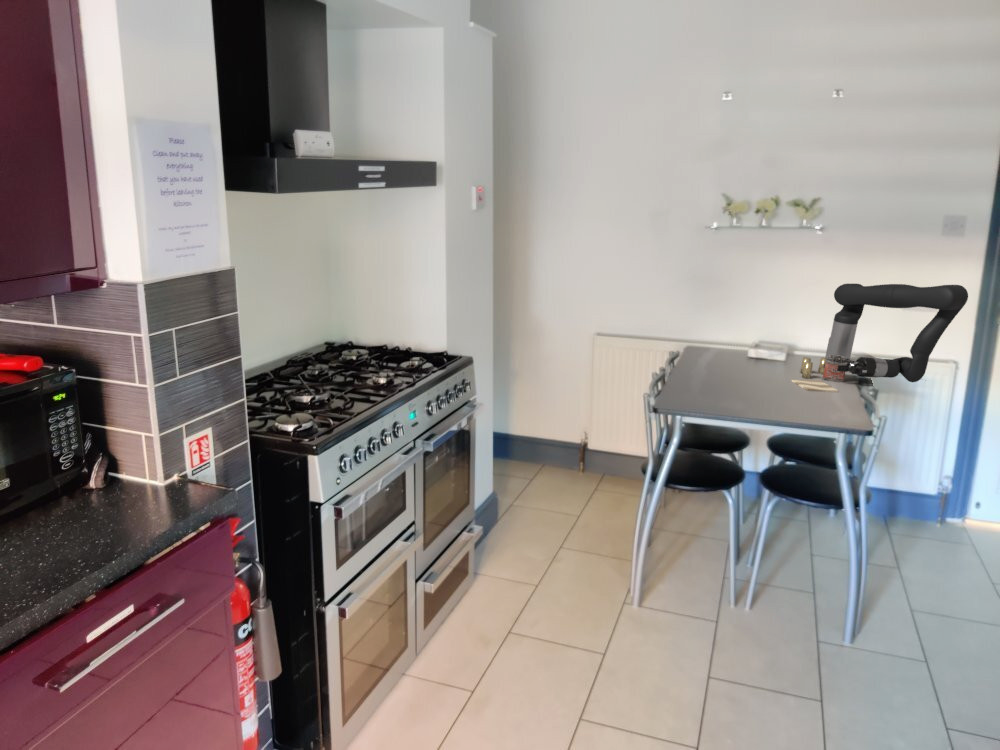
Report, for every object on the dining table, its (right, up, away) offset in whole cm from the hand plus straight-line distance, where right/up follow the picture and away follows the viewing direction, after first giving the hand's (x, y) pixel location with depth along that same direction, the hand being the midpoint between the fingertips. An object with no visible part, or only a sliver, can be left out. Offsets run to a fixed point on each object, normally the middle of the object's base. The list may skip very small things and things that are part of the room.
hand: (832, 365), depth 310 cm
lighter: (+1, -6, +2) cm, 7 cm away
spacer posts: (-5, -4, +7) cm, 9 cm away
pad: (-10, -8, -10) cm, 16 cm away
